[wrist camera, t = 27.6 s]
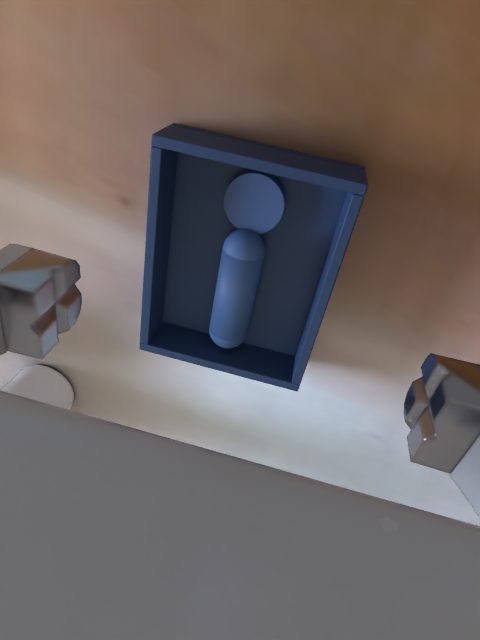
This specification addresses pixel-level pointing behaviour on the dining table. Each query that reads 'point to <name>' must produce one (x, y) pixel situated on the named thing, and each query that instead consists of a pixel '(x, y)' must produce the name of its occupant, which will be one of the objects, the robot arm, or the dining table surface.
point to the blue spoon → (244, 252)
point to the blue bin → (207, 243)
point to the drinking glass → (41, 386)
